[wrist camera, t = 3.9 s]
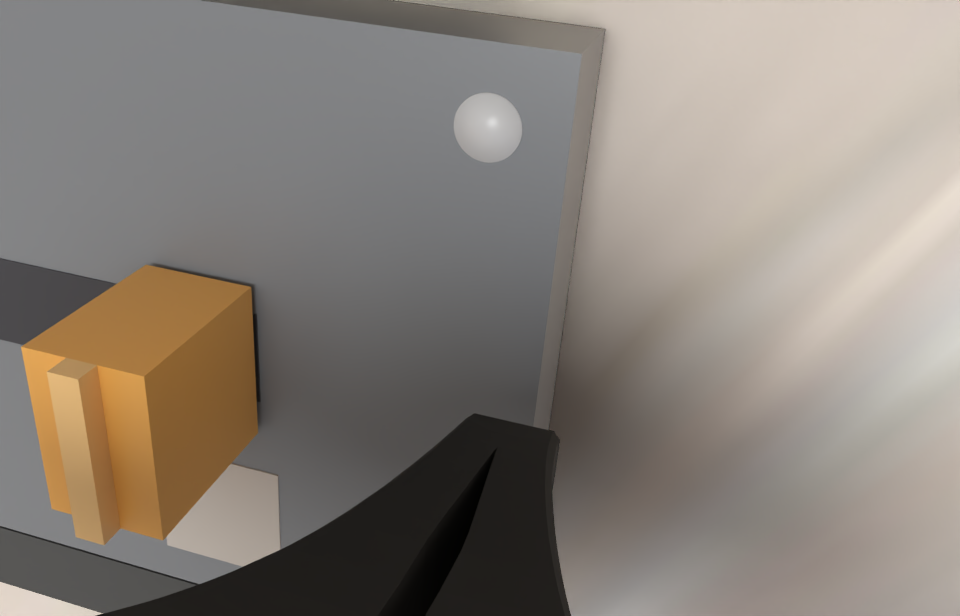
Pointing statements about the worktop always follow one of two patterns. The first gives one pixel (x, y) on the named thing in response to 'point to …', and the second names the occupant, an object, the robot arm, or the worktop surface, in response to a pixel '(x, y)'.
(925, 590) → the worktop surface
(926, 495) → the worktop surface
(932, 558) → the worktop surface
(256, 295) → the panel
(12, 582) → the dark grey flat bars
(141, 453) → the knob
